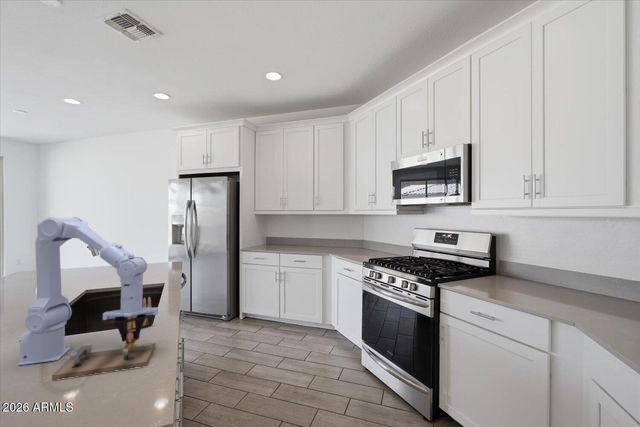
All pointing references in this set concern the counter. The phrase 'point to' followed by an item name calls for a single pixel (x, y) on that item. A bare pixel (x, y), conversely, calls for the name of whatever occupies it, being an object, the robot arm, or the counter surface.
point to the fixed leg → (81, 354)
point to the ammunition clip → (147, 321)
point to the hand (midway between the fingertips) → (130, 339)
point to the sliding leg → (129, 342)
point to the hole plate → (104, 364)
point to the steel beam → (113, 351)
